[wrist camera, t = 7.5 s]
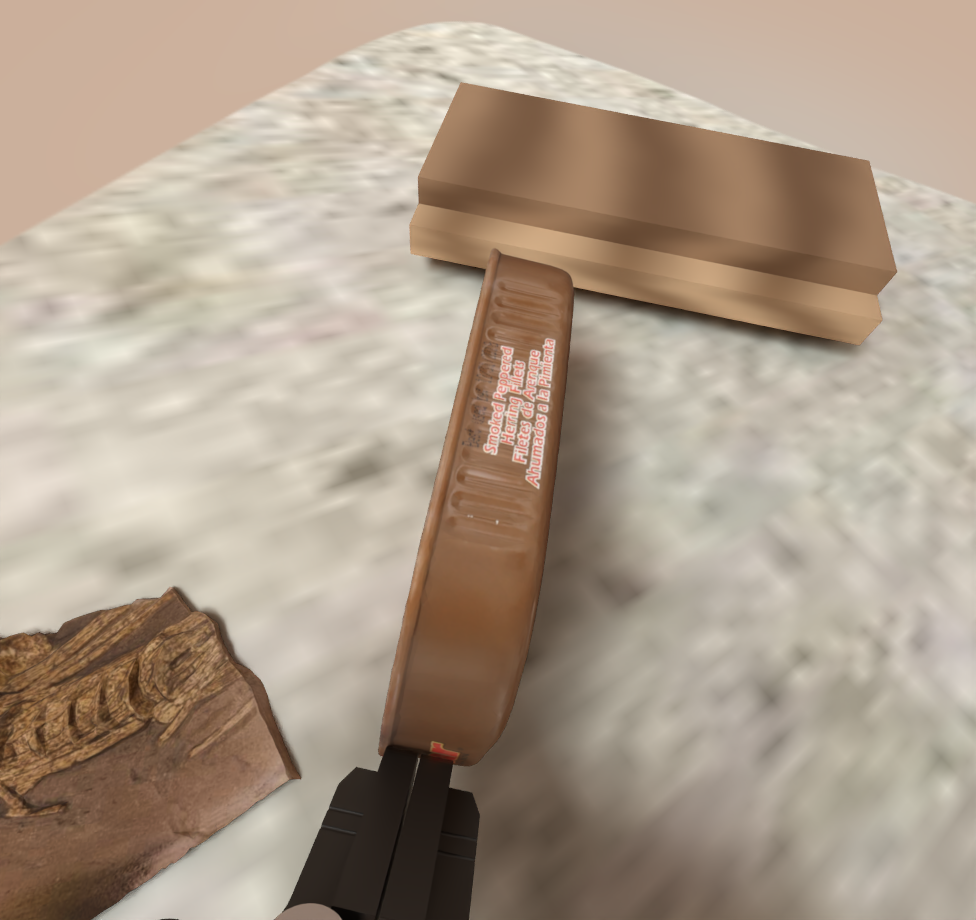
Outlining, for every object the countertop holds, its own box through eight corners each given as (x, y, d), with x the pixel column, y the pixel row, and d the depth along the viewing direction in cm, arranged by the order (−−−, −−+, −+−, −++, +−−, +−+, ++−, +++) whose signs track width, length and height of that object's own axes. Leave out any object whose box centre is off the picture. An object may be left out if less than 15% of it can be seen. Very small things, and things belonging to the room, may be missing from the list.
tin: (470, 367, 24) (485, 182, 17) (544, 380, 24) (590, 200, 17) (378, 764, 17) (334, 732, 9) (486, 784, 16) (527, 768, 9)
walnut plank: (821, 232, 31) (869, 160, 28) (841, 364, 26) (903, 297, 23) (458, 160, 32) (460, 82, 28) (411, 275, 27) (408, 198, 23)
